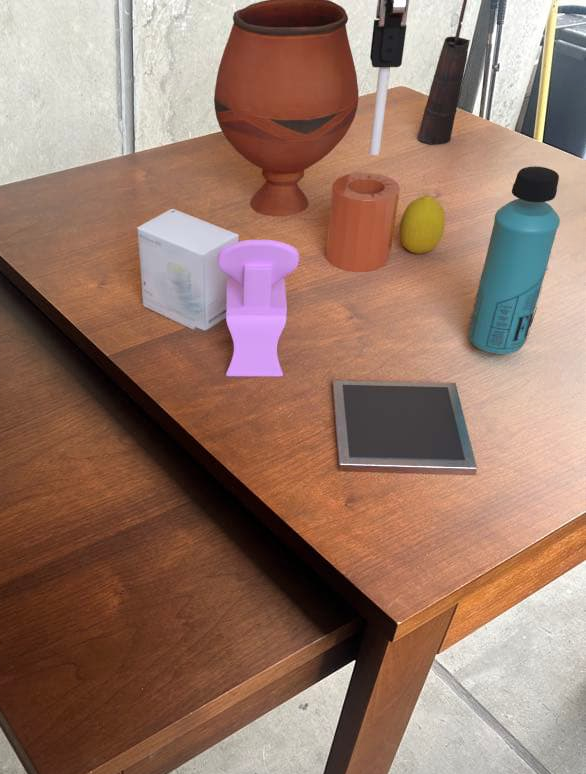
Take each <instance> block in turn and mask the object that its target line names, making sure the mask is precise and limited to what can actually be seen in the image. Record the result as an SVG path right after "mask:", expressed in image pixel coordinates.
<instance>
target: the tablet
mask: <svg viewBox="0 0 586 774" xmlns="http://www.w3.org/2000/svg"><path fill="white" fill-rule="evenodd" d="M331 388H332V389H331V392H332V394H331V395H332V405H333V415H334V416H333V417H334V427H335V428H334V430H335V441H336V443H335V444H336V454H337V467H338V471H339V472H360V473H361V472H363V473H364V472H365V473H400V474H431V475H464V476H465V475H467V476H475V475H476V474H477V472H478V471H477V470H478V466H477V462H476V458H475V454H474V449H473V447H472V443H471V442H472V441H471V438H470V435H469V431H468V426H467V422H466V419H465V415H464V411H463V406H462V403H461V399H460V395H459V391H458V387H457V383H456V382H431V381H429V382H428V381H389V380H387V381H383V380H344V379H343V380H341V379H339V380H338V379H336V380H335V379H333V380H332V383H331Z"/></svg>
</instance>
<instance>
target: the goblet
mask: <svg viewBox="0 0 586 774" xmlns="http://www.w3.org/2000/svg"><path fill="white" fill-rule="evenodd" d="M232 20H233V23H232V27H231V29H230V32H229V36H228V38H227V40H226V41H227V42H226V44H225V46H224V49H223V53H222V56H221V60H220V63H219V66H218V70H217V75H216V81H215V85H214V86H215V88H214V96H213V105H214V111H215V116H216V121H217V123H218V126H219V128H220V130H221V132H222V133H223V135H224V137H225V139H226V140H227V141H228V143H229V144H230V145H231V146H232V148H233V149H234V150H235V151H236V152H237V153H238V155H239V154H240V155H241V156H242V157H243V158H244V159H245V160H247V161H248V162H249V163H251V164H252V165H253V166H256V167H257V168H258V169H260V170H261V169H262V170H261V175H262V176H263V178H264V179H265V182H264V184H262V186H261V187H260V188H259V189H258V190H257V192H255V194H254V195H253V196H252V198H251V200H250V202H249V205H250V207H251V209H252V210H253V211H254V212H255V213H258V214H260V215H263V216H269V217H279V218H281V217H289V216H295V215H297V214H300V213H303V212H304V211H306V210H307V209H308V207H309V199H308V198H307V196H306V195H305V193H304V192H303V190H302V189H301V188H300V187H299V185H298V182H300V181H301V180H302V179H303V178H304V177H305V170H307V169H308V168H310V167H312V166H314V165H315V164H317V163H318V162H320V161H322V160H323V158H325V157H326V156H328V155H329V154H330V153H331V152H332V151H333V150H334V149H335V148H336V147H337V146H338V145H339V144H340V142H341V141H342V140H343V139H344V138H345V136H346V134H347V133H348V131H349V130H350V128H351V126H352V124H353V122H354V120H355V119H356V114H357V110H358V106H359V86H358V85H359V84H358V76H357V71H356V67H355V62H354V57H353V53H352V48H351V45H350V40H349V36H348V31H347V23H348V20H349V16H348V13H347V11H346V9H345V8H344V7H343V6H341V5H339V4H338V3H335V2H333V1H332V0H262V1H259V2H254V3H252V4H249V5H247V6H245V7H243V8H241V9H237V10H236V11H234V12H233V15H232Z"/></svg>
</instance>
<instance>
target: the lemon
mask: <svg viewBox="0 0 586 774" xmlns="http://www.w3.org/2000/svg"><path fill="white" fill-rule="evenodd" d="M445 226H446V215H445V211H444V208H443V206H442V204H441V203H440V202H439V200H437V199H435V198H433V197H431V195H429V194H425V195H424V196H421V197H418V198H415V199H414V200H412V201H411V202H409V204H408V205H407V206H406V208H405V210H404V212H403V214H402V217H401V220H400V223H399V238H400V241H401V244H402V245H403V247H404V248H405V249H406V250H407V251H408V252H411V253H412V254H413V253H414V254H417V255H420V254H421V255H422V254H427V253H430V251H432V250H434V249H435V248H436V247H437V246H438V244H439V243H440V241H441V239H442V237H443V235H444V232H445V228H446V227H445Z"/></svg>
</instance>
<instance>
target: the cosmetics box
mask: <svg viewBox="0 0 586 774" xmlns="http://www.w3.org/2000/svg"><path fill="white" fill-rule="evenodd" d="M136 229H137V232H136V233H137V241H138V243H137V244H138V253H139V269H140V281H141V283H140V284H141V296H142V307H145V308H146V309H148V310H151V311H153V312H155V313H157V314H159V315H161V316H163V317H165V318H167V319H169V320H172V321H174V322H176V323H178V324H180V325H181V326H184V327H185V328H188V329H190V330H192V331H195V330H196V328H197V329H199V330H202V331H207V330H209V329H210V328H212V327H214V326H215V325H217V324H218V323H220V322H222V321H224V320H226V308H227V279H233V278H231V277H230V276H229V275H227V274H225V273H224V272H222V271H221V269H220V268H219V265H218V253H219V252H220V250H221V249H223V248H224V247H226V246H228V245H230V244H233V243H236V242H240V235H239V234H238V233H235V232H233V231H232V230H228V229H226V228H223V227H220V226H217V225H215V224H213V223H211V222H208V221H205V220H203V219H200V218H198V217H195V216H193V215H190V214H188V213H185V212H183V211H180V210H178V209H176V208H170V209H168V210H167V211H164V212H163V213H161V214H159V215H157V216H155V217H153V218H152V219H150V220H148V221H146V222H144V223H143V224H141V225H139V226H137V228H136Z"/></svg>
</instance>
